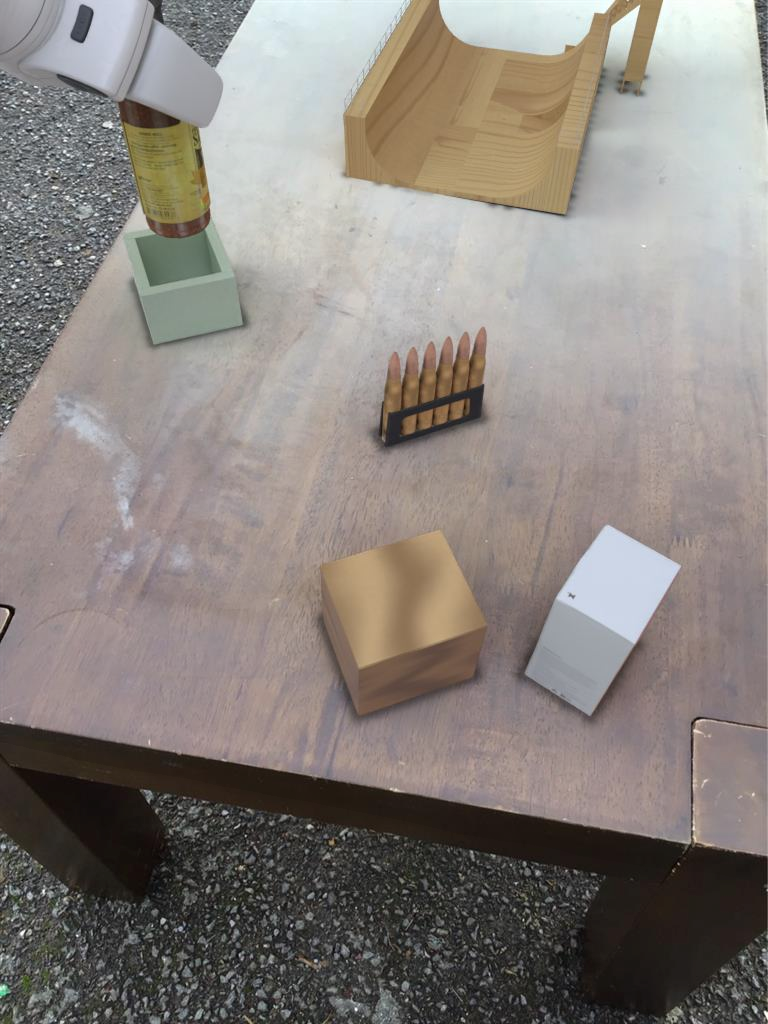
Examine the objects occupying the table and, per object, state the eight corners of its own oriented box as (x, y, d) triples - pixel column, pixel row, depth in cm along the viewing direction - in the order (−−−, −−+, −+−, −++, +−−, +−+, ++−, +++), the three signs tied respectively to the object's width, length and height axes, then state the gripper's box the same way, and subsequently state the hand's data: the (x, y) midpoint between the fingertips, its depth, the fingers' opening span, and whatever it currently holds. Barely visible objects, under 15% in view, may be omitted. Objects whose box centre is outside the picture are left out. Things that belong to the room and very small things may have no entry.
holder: (154, 347, 88) (140, 296, 83) (136, 285, 94) (121, 233, 89) (243, 327, 91) (235, 276, 85) (219, 268, 97) (211, 216, 91)
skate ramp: (419, 49, 131) (423, -67, 118) (642, 78, 126) (672, -40, 113) (346, 185, 109) (341, 60, 96) (613, 229, 103) (647, 102, 90)
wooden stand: (358, 718, 65) (358, 667, 57) (323, 623, 70) (319, 564, 62) (473, 678, 67) (488, 625, 59) (431, 589, 72) (440, 529, 64)
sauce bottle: (224, 230, 76) (192, -6, 59) (161, 250, 73) (110, 12, 57) (194, 193, 79) (156, -40, 63) (133, 212, 77) (77, -24, 60)
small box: (590, 719, 65) (636, 646, 55) (521, 675, 67) (552, 597, 57) (634, 645, 69) (684, 564, 59) (567, 606, 71) (605, 521, 61)
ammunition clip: (472, 407, 85) (487, 317, 75) (480, 419, 84) (497, 330, 74) (378, 437, 82) (381, 348, 72) (385, 450, 81) (389, 361, 71)
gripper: (-86, 12, 58) (57, 94, 71) (126, 101, 52) (241, 173, 65) (-60, -80, 57) (82, 20, 70) (161, 0, 50) (271, 94, 63)
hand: (160, 95), depth 67 cm, fingers closed on sauce bottle, 6 cm apart
